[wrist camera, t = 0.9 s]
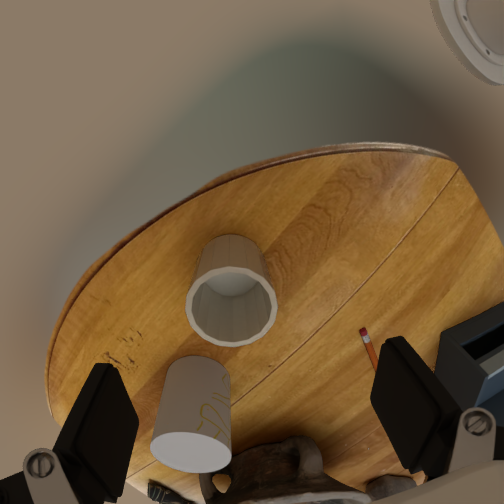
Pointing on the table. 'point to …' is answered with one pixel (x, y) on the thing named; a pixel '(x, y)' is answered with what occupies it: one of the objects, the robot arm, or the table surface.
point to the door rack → (475, 362)
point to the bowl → (280, 477)
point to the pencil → (369, 347)
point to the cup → (194, 417)
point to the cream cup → (231, 293)
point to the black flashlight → (164, 495)
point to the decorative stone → (388, 486)
